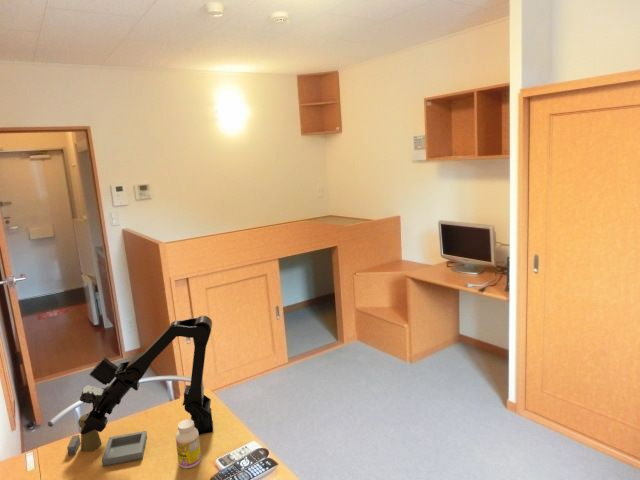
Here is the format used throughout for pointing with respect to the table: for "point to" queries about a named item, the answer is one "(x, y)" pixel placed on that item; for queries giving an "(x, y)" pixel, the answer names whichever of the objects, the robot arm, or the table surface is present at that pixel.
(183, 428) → the supplement bottle
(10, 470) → the table surface
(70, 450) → the bar
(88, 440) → the cork
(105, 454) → the tray
